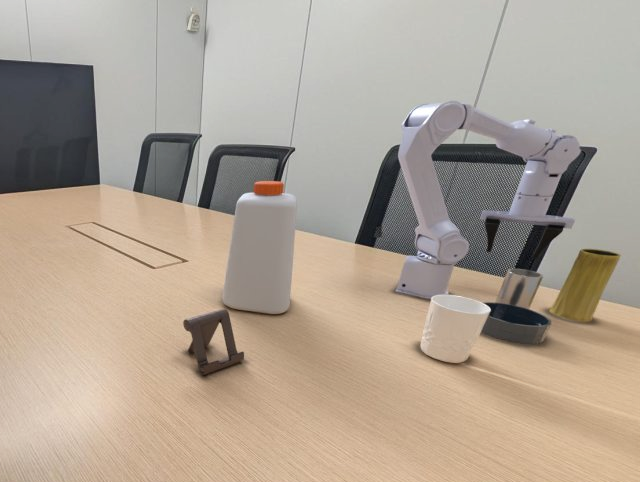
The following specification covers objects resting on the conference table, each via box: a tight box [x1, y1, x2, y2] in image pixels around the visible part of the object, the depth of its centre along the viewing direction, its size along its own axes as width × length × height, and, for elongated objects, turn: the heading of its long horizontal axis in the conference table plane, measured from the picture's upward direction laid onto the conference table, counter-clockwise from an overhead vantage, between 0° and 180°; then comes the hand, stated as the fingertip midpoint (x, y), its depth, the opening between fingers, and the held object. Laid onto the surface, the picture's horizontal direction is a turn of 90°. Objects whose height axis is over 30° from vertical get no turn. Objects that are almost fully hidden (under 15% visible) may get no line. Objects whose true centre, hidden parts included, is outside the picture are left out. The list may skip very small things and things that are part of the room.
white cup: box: [419, 294, 491, 364], centre depth 66 cm, size 8×8×10 cm
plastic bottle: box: [221, 180, 298, 315], centre depth 86 cm, size 15×15×28 cm
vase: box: [549, 248, 622, 322], centre depth 77 cm, size 6×6×14 cm
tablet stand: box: [182, 308, 245, 376], centre depth 66 cm, size 9×8×8 cm
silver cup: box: [495, 268, 544, 310], centre depth 81 cm, size 5×5×9 cm
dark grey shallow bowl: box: [480, 301, 552, 345], centre depth 74 cm, size 11×11×4 cm
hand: (511, 254), depth 86 cm, fingers open, 7 cm apart
